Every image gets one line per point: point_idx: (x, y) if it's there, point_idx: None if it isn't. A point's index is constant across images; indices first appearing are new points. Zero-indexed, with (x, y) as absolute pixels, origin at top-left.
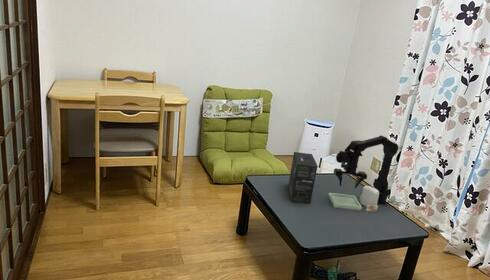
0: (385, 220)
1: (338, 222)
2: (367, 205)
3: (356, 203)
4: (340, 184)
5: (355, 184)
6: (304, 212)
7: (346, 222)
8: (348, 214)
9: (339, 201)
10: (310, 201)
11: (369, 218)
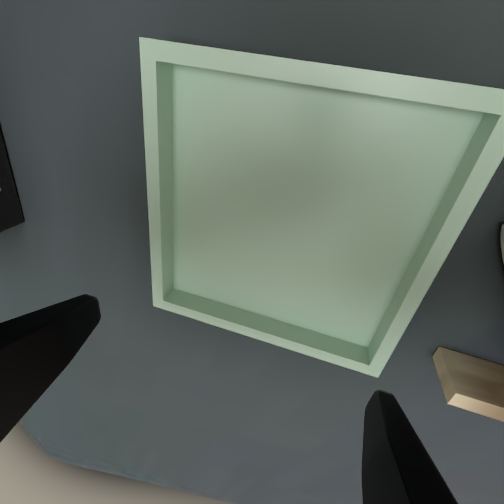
0: (477, 469)
1: (158, 409)
2: (448, 397)
3: (408, 266)
4: (58, 361)
5: (386, 480)
6: (16, 316)
7: (196, 418)
8: (239, 368)
9: (232, 220)
10: (8, 227)
11: (363, 427)
